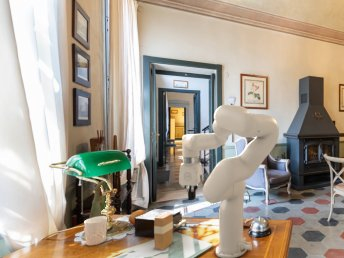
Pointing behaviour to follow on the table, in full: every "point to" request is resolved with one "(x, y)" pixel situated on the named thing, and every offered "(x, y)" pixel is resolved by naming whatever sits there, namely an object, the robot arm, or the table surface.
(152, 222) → the cabinet
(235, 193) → the robot arm
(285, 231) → the table surface
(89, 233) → the white cup
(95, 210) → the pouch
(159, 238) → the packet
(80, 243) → the table surface
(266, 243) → the table surface
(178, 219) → the drawer
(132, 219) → the fruit
